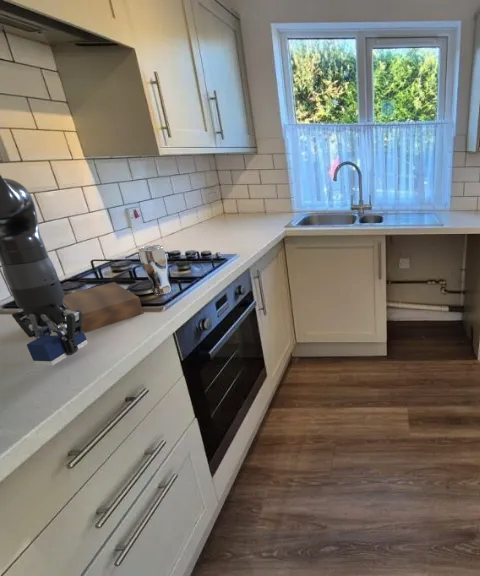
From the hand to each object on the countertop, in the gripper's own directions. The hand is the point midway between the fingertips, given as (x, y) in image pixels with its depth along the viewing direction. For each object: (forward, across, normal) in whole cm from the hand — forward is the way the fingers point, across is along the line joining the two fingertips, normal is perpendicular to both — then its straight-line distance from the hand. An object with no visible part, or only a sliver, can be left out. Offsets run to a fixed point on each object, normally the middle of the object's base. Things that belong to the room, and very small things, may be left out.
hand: (62, 352), depth 80 cm
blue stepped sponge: (0, 0, 0) cm, 0 cm away
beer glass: (+2, -3, +39) cm, 40 cm away
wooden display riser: (+2, -11, +24) cm, 27 cm away
